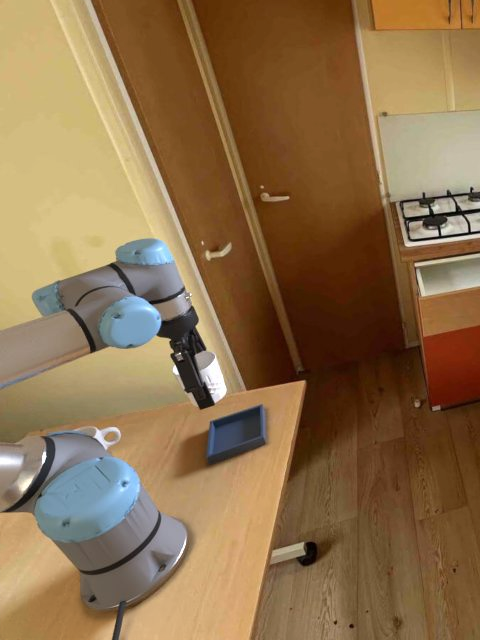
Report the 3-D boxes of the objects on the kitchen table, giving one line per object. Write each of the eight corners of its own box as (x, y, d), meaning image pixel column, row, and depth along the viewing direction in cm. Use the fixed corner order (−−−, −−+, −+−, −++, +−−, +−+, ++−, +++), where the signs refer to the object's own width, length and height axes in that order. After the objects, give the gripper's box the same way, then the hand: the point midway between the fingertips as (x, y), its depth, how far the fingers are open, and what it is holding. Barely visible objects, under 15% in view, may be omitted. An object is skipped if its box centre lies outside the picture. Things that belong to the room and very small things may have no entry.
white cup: (200, 415, 91) (184, 380, 87) (181, 401, 95) (164, 367, 90) (237, 391, 97) (223, 358, 93) (217, 379, 101) (203, 346, 96)
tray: (266, 443, 102) (263, 436, 100) (209, 464, 97) (205, 457, 95) (265, 410, 111) (262, 403, 109) (213, 428, 106) (209, 421, 104)
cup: (123, 435, 104) (109, 412, 100) (132, 453, 99) (117, 430, 95) (63, 466, 96) (46, 442, 92) (70, 487, 92) (51, 463, 88)
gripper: (188, 334, 79) (226, 419, 90) (197, 284, 95) (229, 361, 105) (137, 347, 76) (183, 433, 86) (156, 292, 91) (193, 372, 102)
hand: (208, 394), depth 96 cm, fingers closed on white cup, 8 cm apart
